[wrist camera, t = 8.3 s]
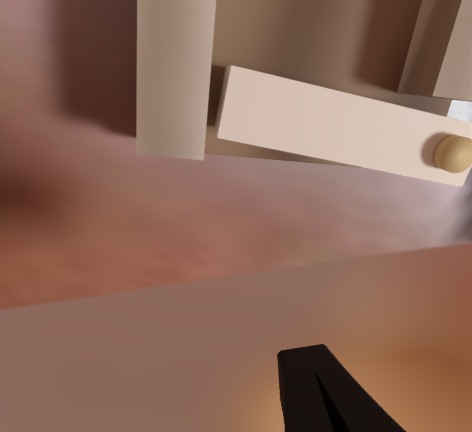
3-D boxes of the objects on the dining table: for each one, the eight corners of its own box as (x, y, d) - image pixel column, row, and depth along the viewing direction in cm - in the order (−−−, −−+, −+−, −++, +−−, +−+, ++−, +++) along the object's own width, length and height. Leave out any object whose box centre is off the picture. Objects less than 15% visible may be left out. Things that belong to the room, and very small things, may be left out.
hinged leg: (447, 119, 16) (502, 129, 13) (425, 171, 17) (472, 191, 14) (225, 66, 14) (233, 64, 11) (214, 128, 15) (218, 140, 12)
